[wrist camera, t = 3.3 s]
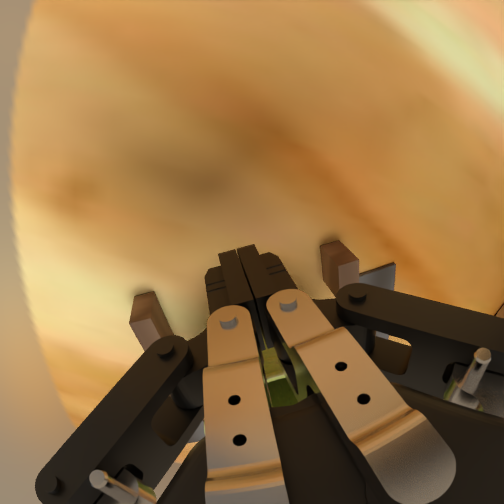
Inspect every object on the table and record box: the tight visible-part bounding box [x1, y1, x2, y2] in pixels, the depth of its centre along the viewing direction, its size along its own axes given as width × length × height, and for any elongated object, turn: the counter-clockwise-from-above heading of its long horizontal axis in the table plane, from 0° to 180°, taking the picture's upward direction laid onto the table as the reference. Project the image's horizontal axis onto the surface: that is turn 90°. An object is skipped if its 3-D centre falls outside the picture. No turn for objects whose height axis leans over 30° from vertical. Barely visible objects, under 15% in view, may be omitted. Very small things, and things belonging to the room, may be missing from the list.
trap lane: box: [129, 241, 396, 443], centre depth 25 cm, size 25×26×4 cm
